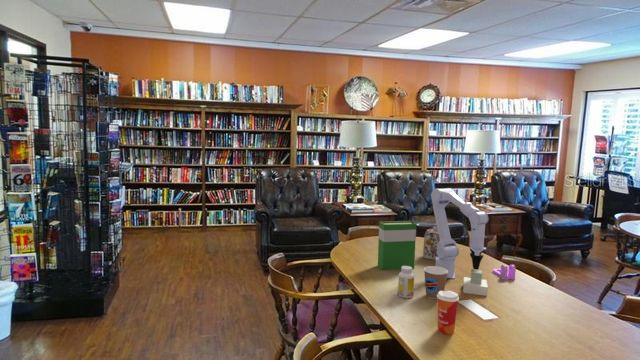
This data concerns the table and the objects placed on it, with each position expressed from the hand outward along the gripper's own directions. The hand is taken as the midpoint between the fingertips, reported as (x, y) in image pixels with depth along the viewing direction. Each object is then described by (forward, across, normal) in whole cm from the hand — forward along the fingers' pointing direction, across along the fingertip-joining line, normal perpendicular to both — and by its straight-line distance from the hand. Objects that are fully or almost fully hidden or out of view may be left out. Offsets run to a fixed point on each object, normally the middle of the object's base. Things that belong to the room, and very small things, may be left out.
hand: (475, 266), depth 192 cm
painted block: (+10, -3, 0) cm, 11 cm away
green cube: (+6, -3, 0) cm, 7 cm away
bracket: (+11, +25, -14) cm, 31 cm away
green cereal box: (+11, +17, +39) cm, 44 cm away
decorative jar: (+11, +43, +20) cm, 49 cm away
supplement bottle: (+11, -21, +28) cm, 37 cm away
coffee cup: (+10, -17, +17) cm, 26 cm away
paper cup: (+10, -49, +10) cm, 51 cm away
